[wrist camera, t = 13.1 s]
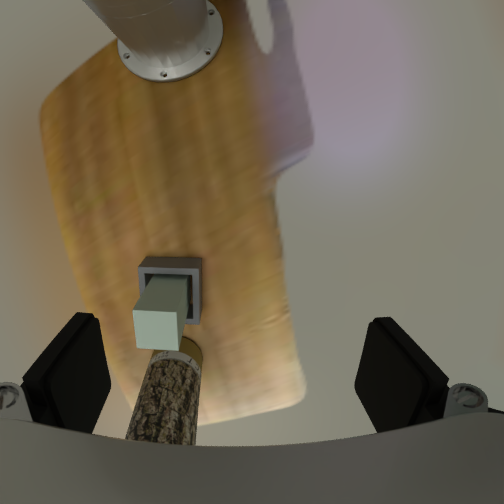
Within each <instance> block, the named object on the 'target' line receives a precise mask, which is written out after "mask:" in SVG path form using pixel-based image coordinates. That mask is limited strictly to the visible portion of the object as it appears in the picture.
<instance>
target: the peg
mask: <svg viewBox="0 0 504 504" xmlns="http://www.w3.org/2000/svg"><path fill="white" fill-rule="evenodd" d="M190 300H191V284H190V275H184V274H154V275H153V277H152V278H151V280H150V282H149V283H148V285H147V286H146V288H145V290H144V291H143V293H142V295H141V296H140V298H139V300H138V301H137V303H136V305H135V307H134V308H133V319H134V328H135V336H136V344H137V348H143V349H157V350H174V351H179V347H180V342H181V338H182V334H183V329H184V325H185V321H186V317H187V312H188V308H189V304H190Z"/></svg>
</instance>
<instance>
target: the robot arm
mask: <svg viewBox="0 0 504 504" xmlns="http://www.w3.org/2000/svg"><path fill="white" fill-rule="evenodd" d="M83 1H84V2H85V3H86V4H87V5H88V6H89V7H90V9H92V11H93V12H94V13H95V14H96V15H97V16H98V17H99V18H100V19H101V20H102V21H103V22H104V23H105V24H106V25H107V26H108V28H109V29H110V30H111V31H112V32H113V33H114V34H115V35H116V36H117V37H118V44H117V46H118V52H119V55H120V58H121V60H122V62H123V63H124V64H125V66H126V67H127V68H128V69H129V70H130V71H131V72H132V73H134V74H135V75H137V76H138V77H140V78H143V79H145V80H148V81H154V82H172V81H178V80H181V79H184V78H187V77H189V76H191V75H193V74H195V73H197V72H198V71H200V70H201V69H202V68H204V67H205V66H206V65H207V64H208V63H209V62H210V61H211V60H212V59H213V58H214V56H215V55H216V53H217V52H218V50H219V47H220V45H221V42H222V37H223V24H222V19H221V16H220V14H219V12H218V10H217V9H216V8H215V6H214V5H213V4H212V3H211V2H209V1H208V0H83ZM210 14H213V15H210ZM208 52H209V53H210V55H206V53H208ZM128 56H130V57H129V58H128V59H127V57H128ZM165 74H167V76H166V77H163V76H164V75H165ZM22 378H23V381H24V382H23V383H22V384H21V386H19V385H17V384H15V383H12V382H3V383H0V504H504V412H503V411H499V410H496V409H492V408H488V399H487V396H486V394H485V393H484V392H483V391H482V390H481V389H480V388H478V387H476V386H474V385H471V384H466V383H460V384H455V385H453V386H452V387H451V388H449V387H448V386H447V383H448V381H449V378H448V377H447V376H446V375H445V374H444V373H443V372H442V370H441V369H440V368H439V367H438V366H437V365H436V364H435V363H434V362H433V361H432V360H431V358H430V357H429V356H428V355H427V354H426V353H425V352H424V351H423V350H422V349H421V348H420V347H419V346H418V345H417V344H416V343H415V342H414V340H413V339H412V338H410V336H409V335H408V334H407V333H406V332H405V331H404V330H403V329H402V328H401V327H400V326H399V325H398V324H397V323H396V322H395V321H394V320H393V319H392V318H391V317H379V318H375V319H374V320H373V322H370V323H369V326H368V330H367V334H366V339H365V343H364V348H363V352H362V356H361V360H360V364H359V368H358V372H357V376H356V379H355V391H356V393H357V395H358V397H359V399H360V400H361V403H362V405H363V406H364V408H365V410H366V412H367V414H368V416H369V418H370V420H371V422H372V424H373V425H374V427H375V429H376V431H377V433H375V434H369V435H363V436H357V437H350V438H344V439H336V440H328V441H320V442H311V443H299V444H287V445H269V446H194V445H177V444H164V443H153V442H143V441H135V440H127V439H120V438H113V437H107V436H101V435H95V434H92V432H93V430H94V427H95V425H96V423H97V420H98V418H99V415H100V413H101V410H102V408H103V406H104V404H105V401H106V399H107V396H108V394H109V392H110V389H111V379H110V375H109V370H108V366H107V361H106V356H105V351H104V346H103V340H102V335H101V329H100V323H99V320H98V318H95V317H94V315H93V314H92V313H80V312H77V313H76V314H75V315H74V316H73V317H72V318H71V319H70V320H69V322H68V323H67V324H66V325H65V326H64V327H63V329H62V330H61V331H60V332H59V333H58V335H57V336H56V337H55V338H54V339H53V340H52V341H51V343H50V344H49V345H48V346H47V348H46V349H45V350H44V351H43V352H42V354H41V355H40V356H39V357H38V359H37V360H36V361H35V362H34V363H33V365H32V366H31V367H30V369H29V370H28V371H27V372H26V374H25V375H24V376H23V377H22Z"/></svg>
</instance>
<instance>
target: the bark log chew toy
mask: <svg viewBox="0 0 504 504" xmlns="http://www.w3.org/2000/svg"><path fill="white" fill-rule="evenodd" d="M201 370H202V354H201V351H200V349H199V348H198V347H197V346H196V344H194V343H193V342H192V341H190V340H188V339H186V338H183V337H182V338H181V342H180V347H179V351H174V350H157V349H154V351H153V354H152V357H151V360H150V362H149V365H148V368H147V371H146V374H145V377H144V380H143V383H142V386H141V389H140V392H139V396H138V399H137V402H136V405H135V408H134V411H133V415H132V418H131V421H130V424H129V428H128V431H127V434H126V438H125V439H127V440H135V441H143V442H153V443H164V444H177V445H194V446H195V444H196V430H197V418H198V406H199V394H200V383H201Z"/></svg>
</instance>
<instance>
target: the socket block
mask: <svg viewBox="0 0 504 504" xmlns="http://www.w3.org/2000/svg"><path fill="white" fill-rule="evenodd" d="M138 274H139V288H140V296H141V295H142V293H143V291H144V290H145V288H146V286H147V285H148V283H149V282H150V280H151V278H152V277H153V274H184V275H192V282H193V304H189V308H188V312H187V317H186V321H185V324H197V325H200V318H201V312H202V281H201V258H178V257H146V258H145V259H144V260H143V261H142V263H141V264H140V265H139V266H138Z"/></svg>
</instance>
